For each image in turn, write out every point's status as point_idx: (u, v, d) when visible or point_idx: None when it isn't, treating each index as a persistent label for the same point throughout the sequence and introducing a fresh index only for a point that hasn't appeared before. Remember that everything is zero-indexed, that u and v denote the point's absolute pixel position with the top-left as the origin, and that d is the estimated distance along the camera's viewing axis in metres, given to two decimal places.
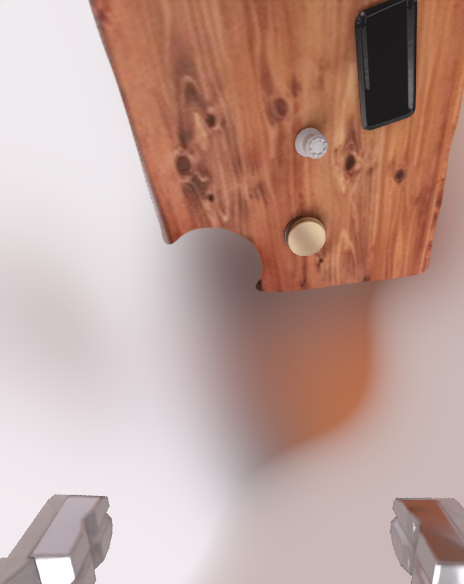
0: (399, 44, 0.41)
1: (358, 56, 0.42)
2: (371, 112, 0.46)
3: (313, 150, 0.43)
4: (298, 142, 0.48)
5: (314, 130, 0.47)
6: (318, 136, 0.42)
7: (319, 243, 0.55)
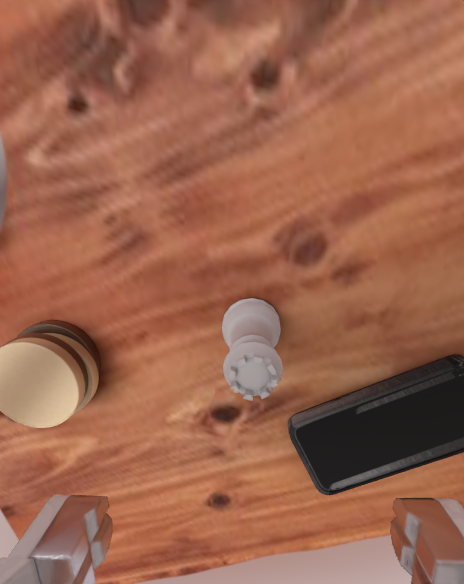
0: (426, 438, 0.23)
1: (407, 378, 0.22)
2: (319, 428, 0.23)
3: (243, 366, 0.15)
4: (249, 307, 0.20)
5: (278, 335, 0.21)
6: (278, 368, 0.15)
7: (32, 418, 0.21)
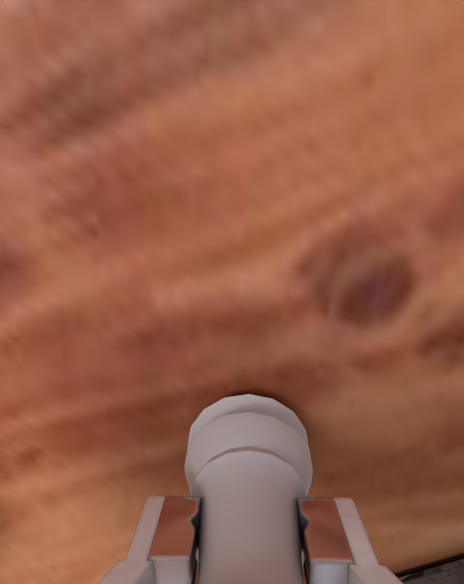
0: None
1: None
2: None
3: None
4: (243, 429, 0.09)
5: (308, 487, 0.09)
6: None
7: None
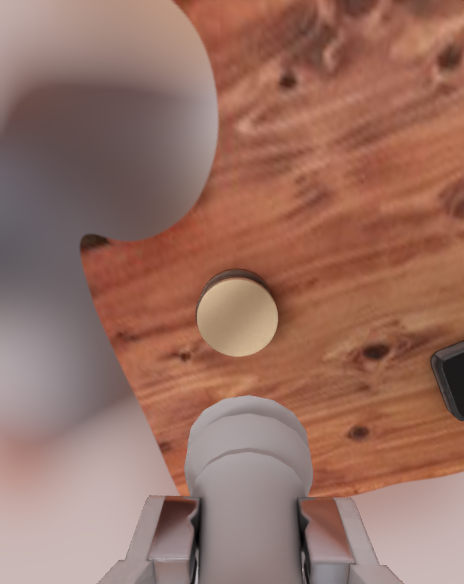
0: None
1: None
2: (463, 360, 0.27)
3: None
4: (243, 430, 0.09)
5: (308, 488, 0.09)
6: None
7: (232, 347, 0.25)
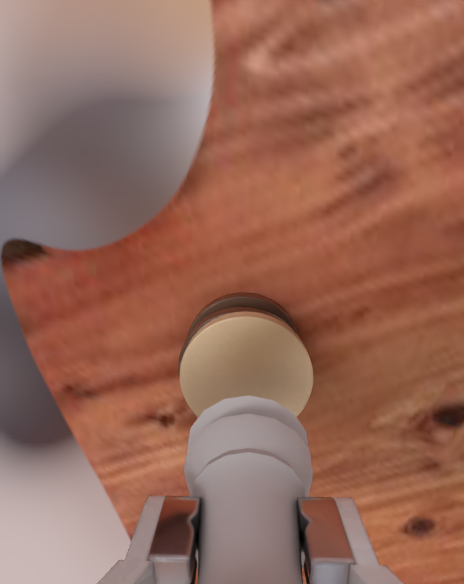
0: None
1: None
2: None
3: None
4: (243, 431, 0.09)
5: (308, 489, 0.09)
6: None
7: None
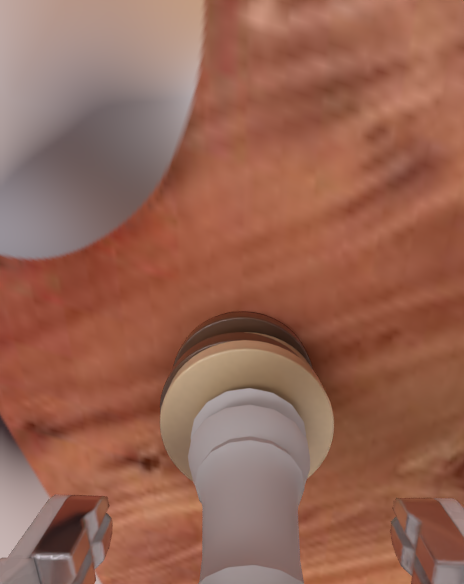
0: None
1: None
2: None
3: None
4: (244, 420, 0.09)
5: (305, 476, 0.10)
6: None
7: None
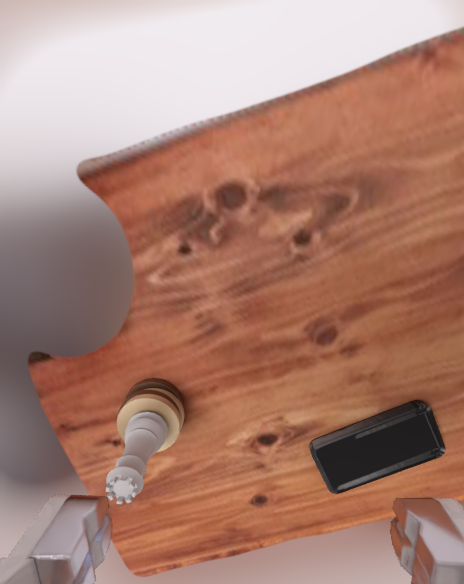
0: (400, 454, 0.35)
1: (387, 416, 0.34)
2: (331, 449, 0.35)
3: (115, 483, 0.24)
4: (140, 423, 0.30)
5: (161, 440, 0.30)
6: (139, 482, 0.25)
7: None
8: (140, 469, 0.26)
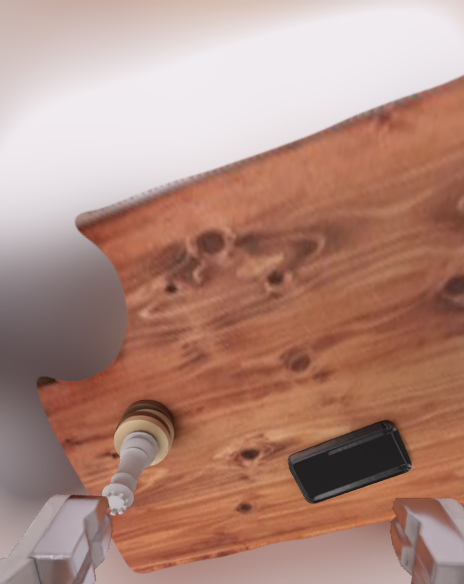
0: (370, 469, 0.39)
1: (357, 435, 0.38)
2: (307, 464, 0.39)
3: (109, 497, 0.29)
4: (133, 442, 0.34)
5: (152, 457, 0.34)
6: (129, 497, 0.29)
7: None
8: (131, 485, 0.30)
